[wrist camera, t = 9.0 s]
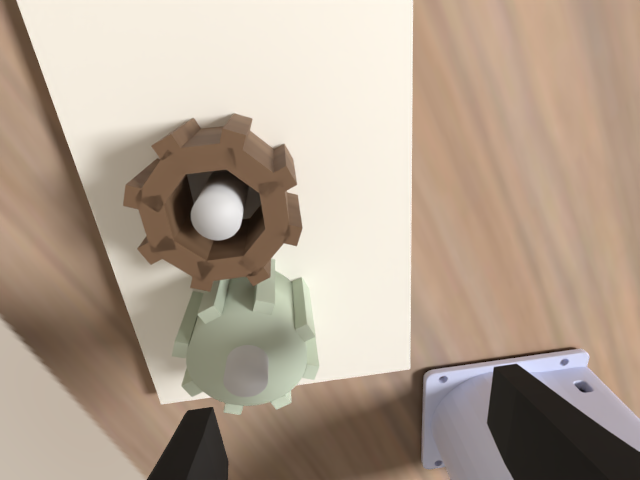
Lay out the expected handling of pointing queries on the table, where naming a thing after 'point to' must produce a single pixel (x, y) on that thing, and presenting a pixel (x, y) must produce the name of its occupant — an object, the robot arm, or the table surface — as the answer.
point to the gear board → (290, 104)
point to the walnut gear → (176, 202)
